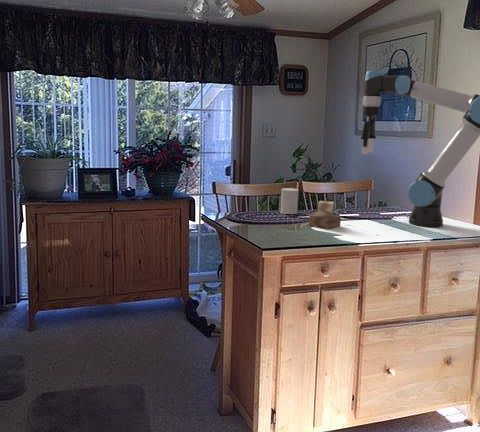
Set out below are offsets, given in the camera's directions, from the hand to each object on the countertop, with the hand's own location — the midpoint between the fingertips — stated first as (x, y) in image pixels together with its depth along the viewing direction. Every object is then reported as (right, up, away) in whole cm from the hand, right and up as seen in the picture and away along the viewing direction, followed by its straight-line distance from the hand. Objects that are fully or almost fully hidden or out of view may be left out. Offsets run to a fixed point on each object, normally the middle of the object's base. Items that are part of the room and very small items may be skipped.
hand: (367, 153), depth 246 cm
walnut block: (-21, -34, -9) cm, 41 cm away
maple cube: (-21, -29, -10) cm, 37 cm away
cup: (-35, -28, +17) cm, 47 cm away
